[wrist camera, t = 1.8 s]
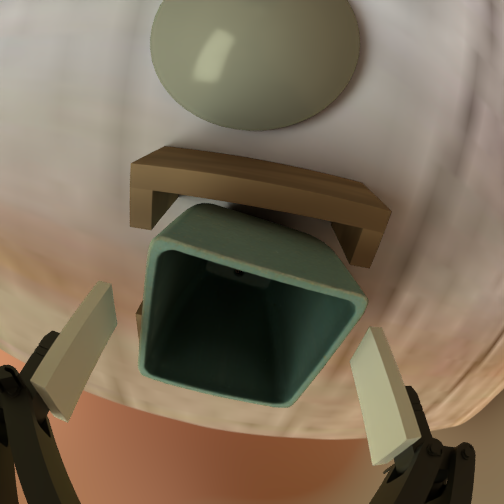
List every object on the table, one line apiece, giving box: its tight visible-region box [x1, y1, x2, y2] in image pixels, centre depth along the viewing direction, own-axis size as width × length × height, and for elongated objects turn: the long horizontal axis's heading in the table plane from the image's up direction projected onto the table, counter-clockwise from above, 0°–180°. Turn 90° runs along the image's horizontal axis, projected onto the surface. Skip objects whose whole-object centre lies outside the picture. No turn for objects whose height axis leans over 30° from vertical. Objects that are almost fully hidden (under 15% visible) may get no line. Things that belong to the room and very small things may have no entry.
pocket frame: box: [130, 146, 392, 343], centre depth 18 cm, size 13×13×5 cm
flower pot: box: [138, 203, 368, 408], centre depth 16 cm, size 9×9×9 cm
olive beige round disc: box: [150, 0, 360, 131], centre depth 13 cm, size 12×12×1 cm
